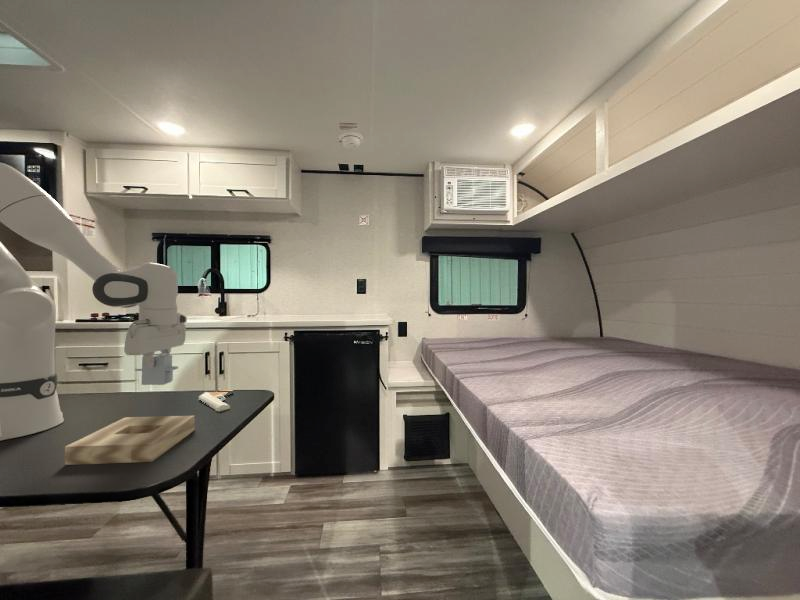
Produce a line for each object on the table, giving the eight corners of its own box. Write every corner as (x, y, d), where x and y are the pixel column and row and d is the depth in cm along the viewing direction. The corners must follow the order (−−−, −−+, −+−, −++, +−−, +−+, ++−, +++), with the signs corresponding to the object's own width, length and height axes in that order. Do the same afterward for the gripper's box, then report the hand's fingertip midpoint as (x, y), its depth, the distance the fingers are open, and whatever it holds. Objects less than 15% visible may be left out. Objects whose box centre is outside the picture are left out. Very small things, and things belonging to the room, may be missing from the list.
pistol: (253, 404, 105) (217, 414, 96) (227, 392, 118) (194, 400, 109) (253, 397, 105) (217, 406, 96) (227, 386, 118) (194, 393, 109)
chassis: (65, 464, 67) (64, 446, 67) (125, 432, 83) (125, 417, 82) (152, 461, 68) (152, 443, 68) (194, 429, 84) (194, 415, 84)
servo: (134, 384, 87) (135, 354, 87) (143, 381, 91) (144, 352, 91) (170, 384, 88) (171, 354, 88) (177, 381, 92) (178, 352, 92)
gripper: (143, 321, 79) (141, 374, 79) (190, 317, 100) (189, 359, 100) (117, 320, 79) (115, 373, 79) (169, 316, 99) (168, 358, 99)
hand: (157, 365), depth 90 cm, fingers closed on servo, 3 cm apart
